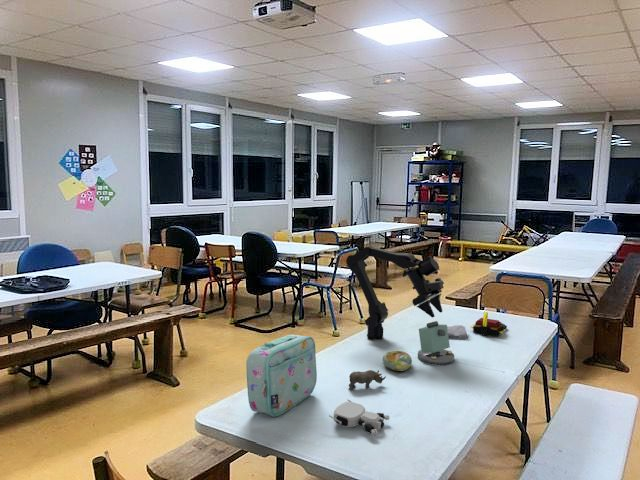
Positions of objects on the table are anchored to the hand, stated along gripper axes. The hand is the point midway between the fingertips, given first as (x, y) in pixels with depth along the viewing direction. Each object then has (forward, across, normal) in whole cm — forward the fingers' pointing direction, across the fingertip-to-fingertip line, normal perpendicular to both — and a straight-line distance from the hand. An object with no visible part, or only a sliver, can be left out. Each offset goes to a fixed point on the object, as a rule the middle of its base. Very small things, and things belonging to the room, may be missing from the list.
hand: (437, 314), depth 209 cm
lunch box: (0, -76, +27) cm, 81 cm away
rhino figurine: (+9, -50, +14) cm, 52 cm away
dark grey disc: (+14, -11, +5) cm, 19 cm away
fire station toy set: (+19, +40, -1) cm, 44 cm away
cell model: (+10, -27, +13) cm, 31 cm away
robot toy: (+15, -75, +5) cm, 76 cm away
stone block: (+13, +23, +9) cm, 27 cm away
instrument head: (+12, -11, +2) cm, 16 cm away
